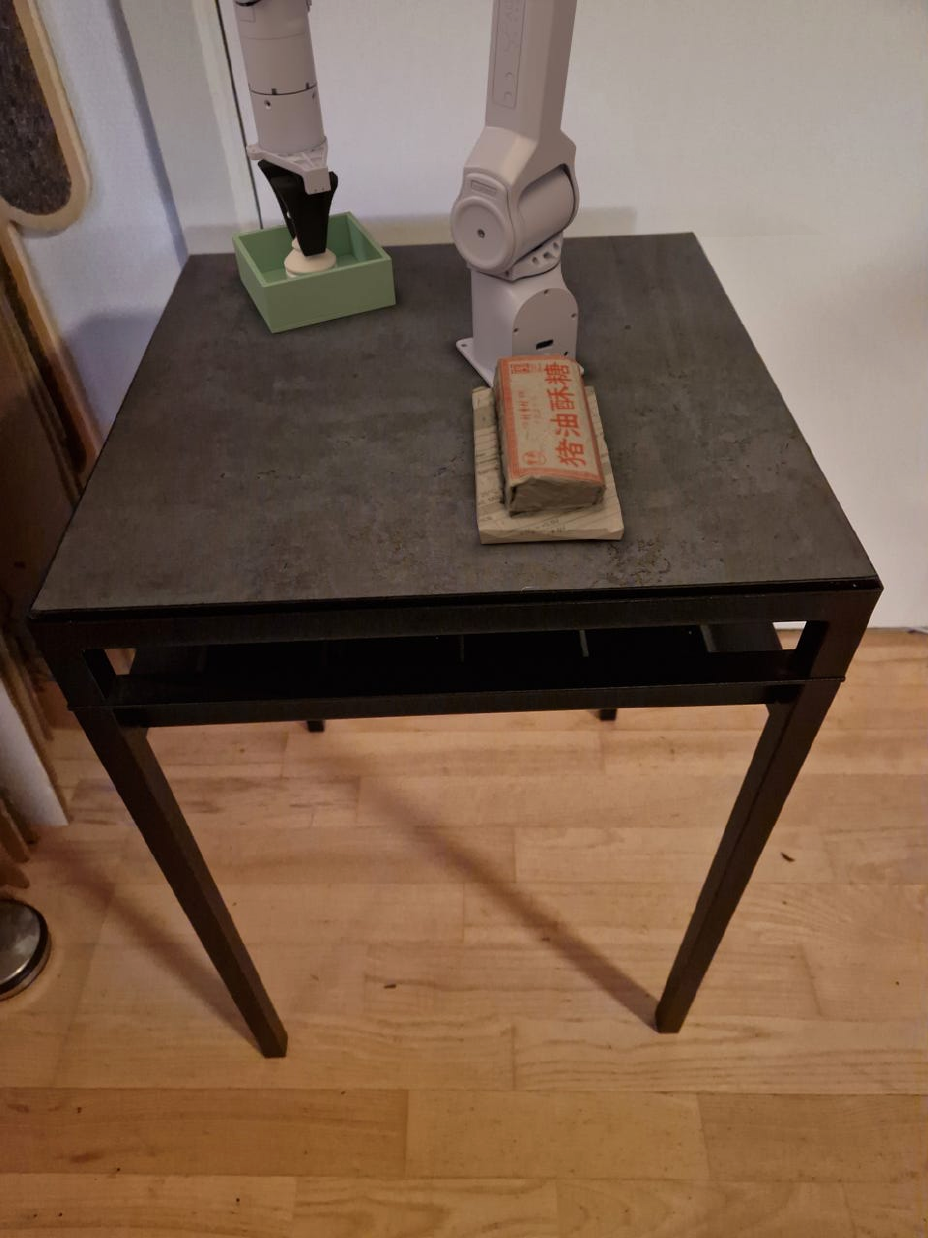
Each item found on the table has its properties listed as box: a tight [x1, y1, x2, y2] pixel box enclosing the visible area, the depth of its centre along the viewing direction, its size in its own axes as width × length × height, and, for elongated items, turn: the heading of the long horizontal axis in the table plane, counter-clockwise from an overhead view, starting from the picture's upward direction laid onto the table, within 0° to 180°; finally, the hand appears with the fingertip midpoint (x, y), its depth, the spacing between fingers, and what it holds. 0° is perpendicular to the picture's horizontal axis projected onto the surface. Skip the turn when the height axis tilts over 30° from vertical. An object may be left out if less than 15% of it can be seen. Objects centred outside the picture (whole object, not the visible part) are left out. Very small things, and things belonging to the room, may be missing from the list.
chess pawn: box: [284, 212, 338, 279], centre depth 83 cm, size 5×5×9 cm
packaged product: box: [471, 354, 625, 545], centre depth 65 cm, size 18×5×10 cm
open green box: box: [230, 210, 397, 334], centre depth 86 cm, size 12×12×4 cm
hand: (308, 245), depth 85 cm, fingers closed on chess pawn, 3 cm apart
